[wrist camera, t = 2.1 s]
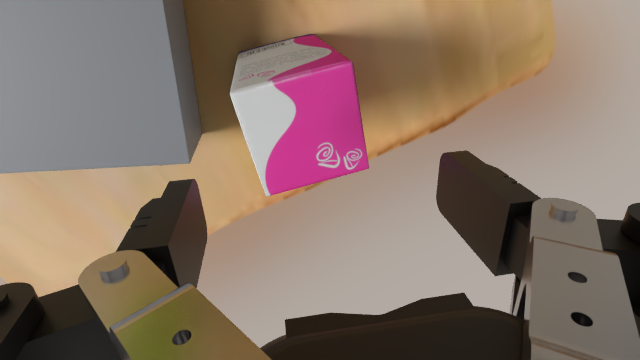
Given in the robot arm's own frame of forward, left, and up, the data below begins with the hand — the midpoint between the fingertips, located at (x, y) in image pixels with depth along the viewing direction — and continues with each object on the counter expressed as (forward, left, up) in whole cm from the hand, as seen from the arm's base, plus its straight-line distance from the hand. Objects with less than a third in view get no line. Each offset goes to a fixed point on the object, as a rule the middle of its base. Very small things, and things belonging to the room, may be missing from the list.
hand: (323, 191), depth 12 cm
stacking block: (-3, -13, -18) cm, 22 cm away
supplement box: (0, 0, -18) cm, 18 cm away
